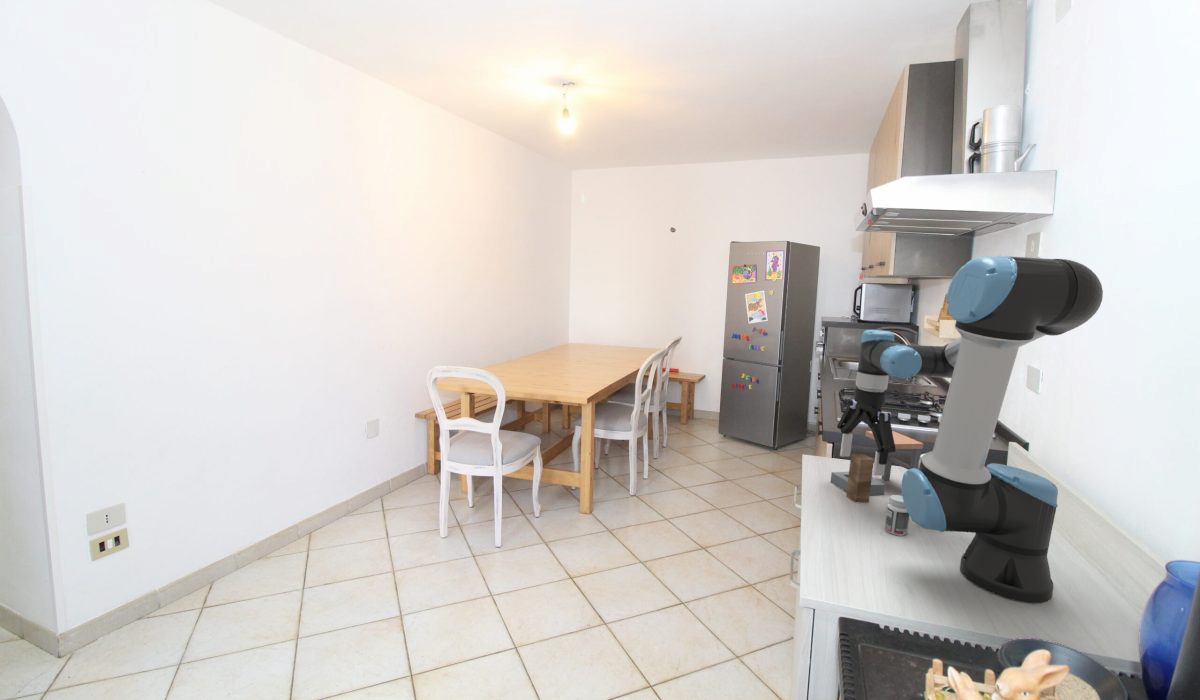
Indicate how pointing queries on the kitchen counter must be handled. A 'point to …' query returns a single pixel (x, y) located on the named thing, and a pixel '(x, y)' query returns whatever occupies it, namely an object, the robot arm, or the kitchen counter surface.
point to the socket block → (842, 482)
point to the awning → (901, 443)
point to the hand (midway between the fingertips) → (860, 465)
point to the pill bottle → (896, 516)
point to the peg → (860, 478)
